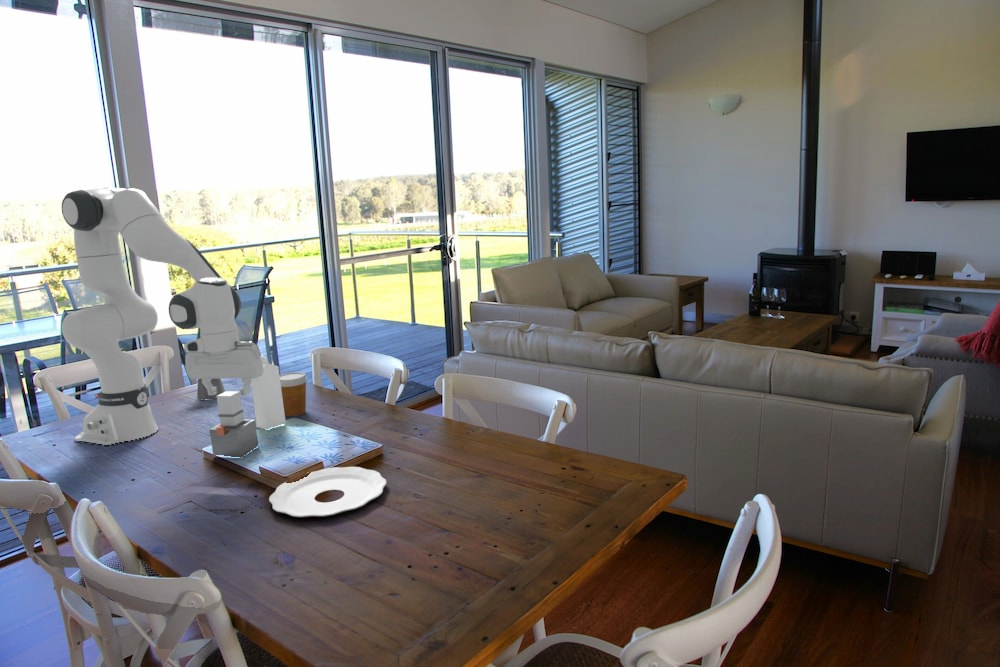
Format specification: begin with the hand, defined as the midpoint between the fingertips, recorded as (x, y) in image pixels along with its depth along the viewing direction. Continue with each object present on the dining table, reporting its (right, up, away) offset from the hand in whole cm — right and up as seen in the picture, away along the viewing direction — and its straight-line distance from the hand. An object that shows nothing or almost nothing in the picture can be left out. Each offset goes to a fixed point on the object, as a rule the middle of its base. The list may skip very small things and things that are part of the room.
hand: (228, 394), depth 175 cm
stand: (+1, -17, +4) cm, 17 cm away
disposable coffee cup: (+6, -9, +38) cm, 39 cm away
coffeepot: (-30, -6, +62) cm, 69 cm away
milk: (+3, -13, +23) cm, 27 cm away
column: (+1, -15, +3) cm, 16 cm away
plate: (+32, -21, -23) cm, 44 cm away
